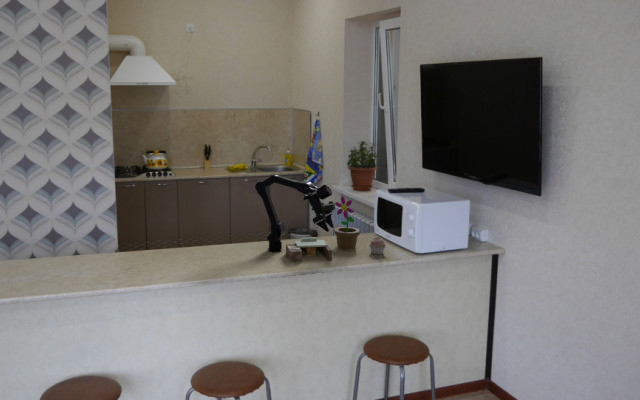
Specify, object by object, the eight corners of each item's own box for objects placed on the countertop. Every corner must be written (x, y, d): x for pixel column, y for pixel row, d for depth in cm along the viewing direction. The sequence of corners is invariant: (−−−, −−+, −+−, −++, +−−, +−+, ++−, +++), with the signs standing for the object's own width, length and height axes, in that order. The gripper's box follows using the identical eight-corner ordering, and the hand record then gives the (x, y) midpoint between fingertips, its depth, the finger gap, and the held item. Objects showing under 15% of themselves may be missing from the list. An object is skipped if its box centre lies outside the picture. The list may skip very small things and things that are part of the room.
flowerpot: (328, 247, 328) (330, 195, 322) (342, 242, 340) (344, 191, 334) (350, 252, 320) (352, 199, 314) (363, 247, 332) (366, 195, 326)
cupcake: (381, 256, 314) (382, 238, 312) (365, 254, 319) (366, 236, 317) (388, 252, 322) (389, 235, 320) (373, 250, 327) (373, 232, 325)
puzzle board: (290, 262, 300) (290, 251, 299) (284, 252, 317) (284, 242, 316) (331, 260, 305) (332, 250, 304) (324, 250, 322) (324, 240, 321)
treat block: (307, 256, 312) (307, 247, 311) (305, 253, 316) (305, 244, 315) (315, 255, 313) (315, 246, 312) (313, 253, 317) (313, 244, 316)
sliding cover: (297, 247, 307) (297, 243, 306) (294, 242, 316) (294, 238, 316) (327, 246, 310) (327, 242, 310) (323, 241, 320) (323, 237, 319)
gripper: (323, 200, 297) (339, 226, 297) (333, 193, 315) (347, 219, 315) (305, 210, 301) (320, 236, 301) (316, 203, 318) (330, 228, 319)
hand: (330, 229), depth 309 cm, fingers open, 9 cm apart
